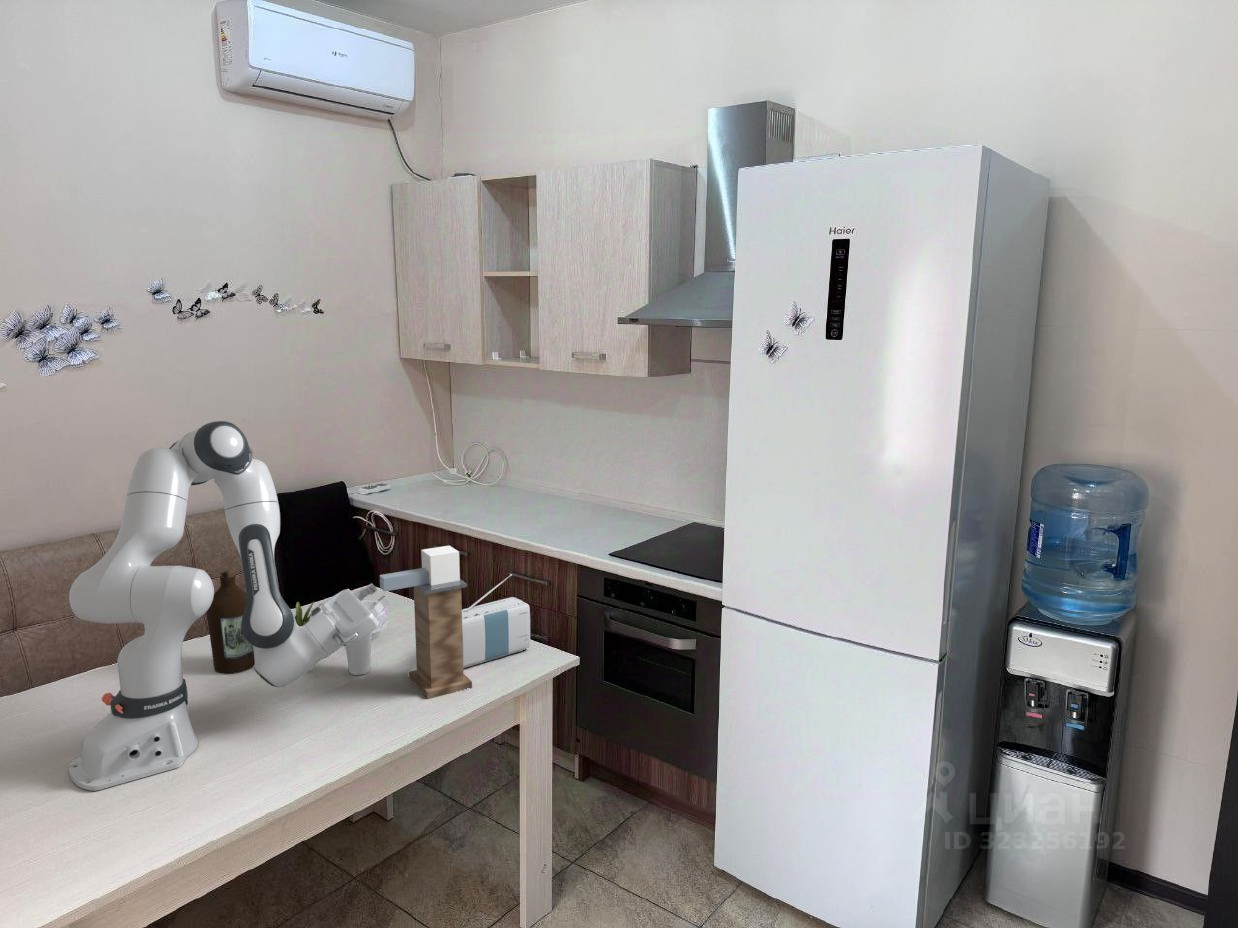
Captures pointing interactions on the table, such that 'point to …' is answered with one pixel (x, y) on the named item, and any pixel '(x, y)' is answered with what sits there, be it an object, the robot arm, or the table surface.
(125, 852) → the table surface
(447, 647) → the stand
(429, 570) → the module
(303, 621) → the house plant
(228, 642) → the olive oil
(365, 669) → the drinking glass
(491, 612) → the stereo radio cassette player
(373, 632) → the paper bowls
